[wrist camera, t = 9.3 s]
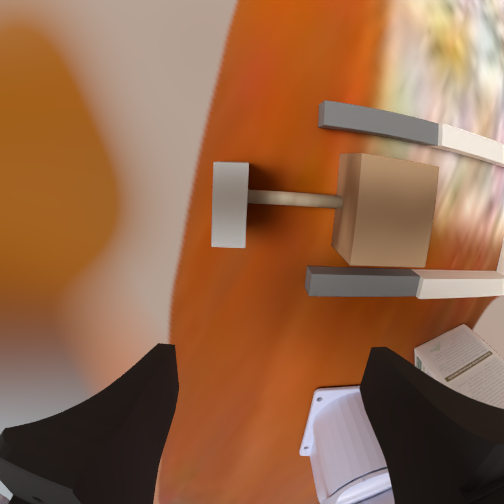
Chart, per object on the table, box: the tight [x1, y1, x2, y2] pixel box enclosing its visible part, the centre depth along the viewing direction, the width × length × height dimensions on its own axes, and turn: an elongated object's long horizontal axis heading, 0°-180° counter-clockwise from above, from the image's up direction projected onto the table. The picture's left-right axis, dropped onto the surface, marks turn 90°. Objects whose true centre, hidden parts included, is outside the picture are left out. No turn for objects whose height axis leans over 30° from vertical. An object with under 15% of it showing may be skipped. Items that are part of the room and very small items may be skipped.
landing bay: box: [305, 101, 439, 297], centre depth 19 cm, size 12×8×2 cm, turn 177°
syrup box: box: [414, 324, 504, 409], centre depth 16 cm, size 6×6×14 cm
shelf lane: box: [411, 123, 504, 299], centre depth 18 cm, size 12×12×3 cm
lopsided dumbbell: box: [212, 153, 439, 267], centre depth 17 cm, size 6×12×5 cm, turn 87°
